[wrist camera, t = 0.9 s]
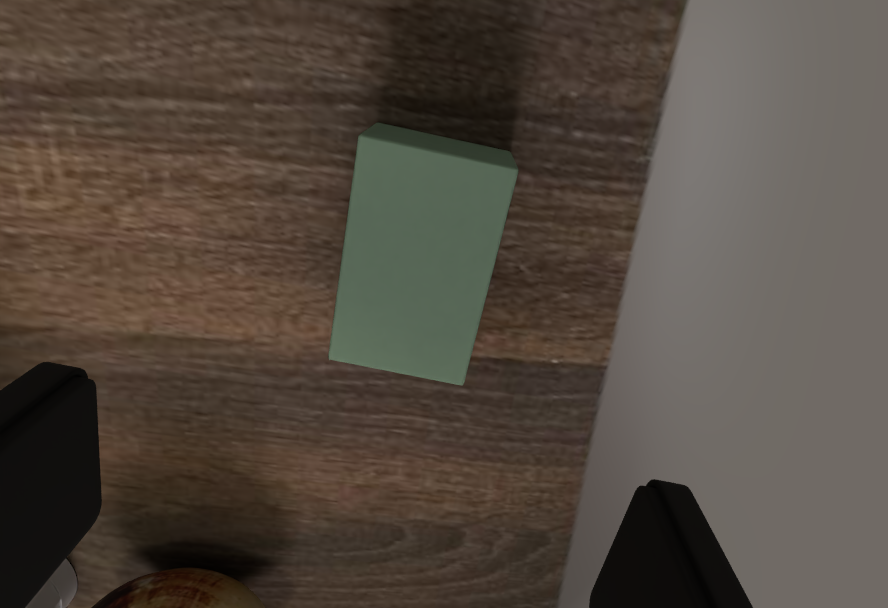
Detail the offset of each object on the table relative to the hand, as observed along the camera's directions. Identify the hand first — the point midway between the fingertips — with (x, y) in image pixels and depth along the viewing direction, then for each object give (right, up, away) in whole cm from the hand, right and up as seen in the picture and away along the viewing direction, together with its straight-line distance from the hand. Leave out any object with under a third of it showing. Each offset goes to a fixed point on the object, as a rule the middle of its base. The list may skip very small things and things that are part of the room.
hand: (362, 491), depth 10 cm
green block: (+1, +6, +12) cm, 13 cm away
